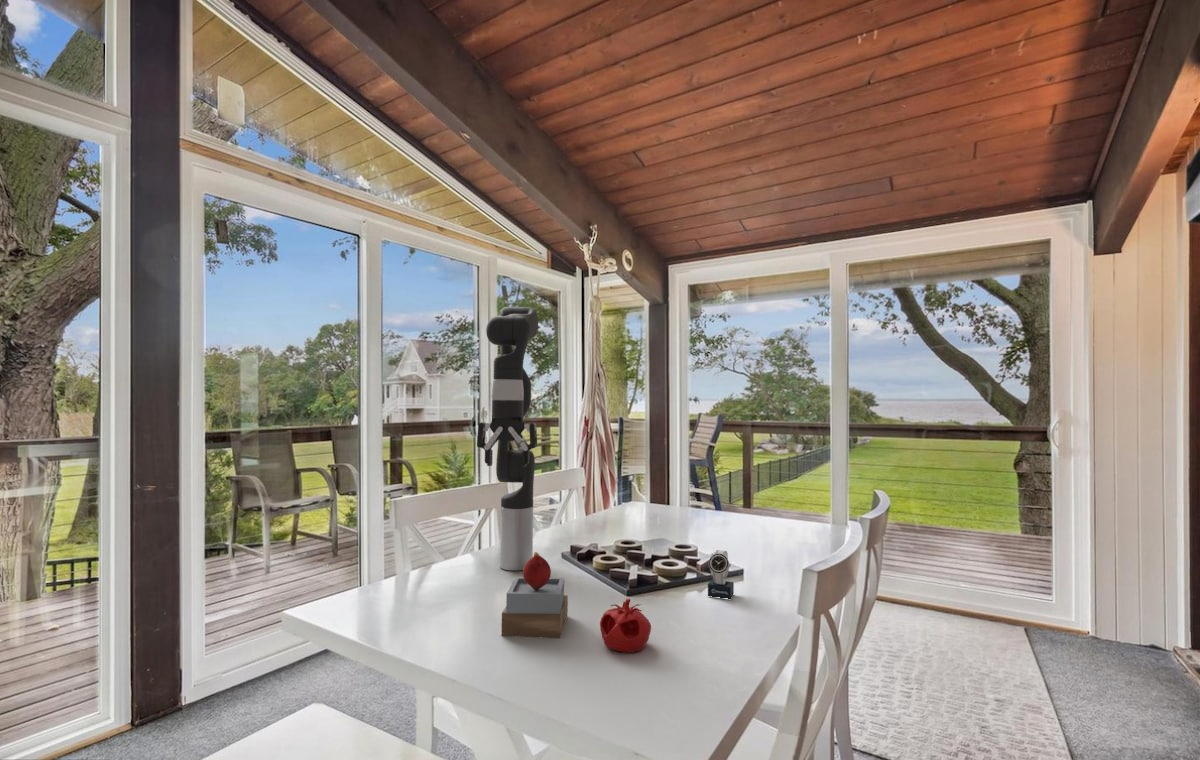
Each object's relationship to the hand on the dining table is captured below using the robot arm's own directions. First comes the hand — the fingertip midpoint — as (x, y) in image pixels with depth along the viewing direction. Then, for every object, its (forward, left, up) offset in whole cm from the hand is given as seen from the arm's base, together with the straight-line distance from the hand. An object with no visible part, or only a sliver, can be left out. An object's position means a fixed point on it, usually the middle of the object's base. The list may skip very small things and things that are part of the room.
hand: (506, 466), depth 141 cm
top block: (+14, +11, -28) cm, 33 cm away
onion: (+14, +11, -25) cm, 30 cm away
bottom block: (+14, +11, -32) cm, 37 cm away
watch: (-10, +52, -32) cm, 62 cm away
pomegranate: (+22, +30, -32) cm, 49 cm away
